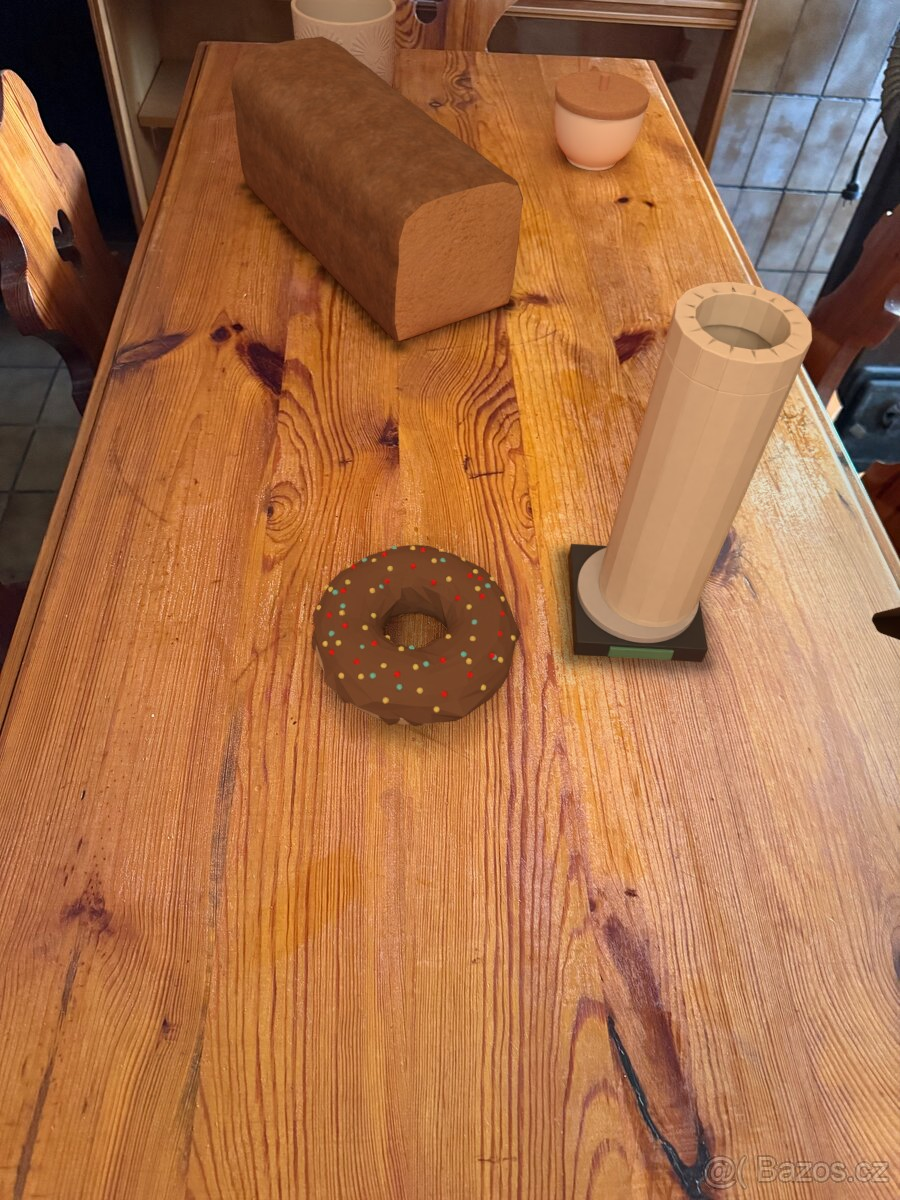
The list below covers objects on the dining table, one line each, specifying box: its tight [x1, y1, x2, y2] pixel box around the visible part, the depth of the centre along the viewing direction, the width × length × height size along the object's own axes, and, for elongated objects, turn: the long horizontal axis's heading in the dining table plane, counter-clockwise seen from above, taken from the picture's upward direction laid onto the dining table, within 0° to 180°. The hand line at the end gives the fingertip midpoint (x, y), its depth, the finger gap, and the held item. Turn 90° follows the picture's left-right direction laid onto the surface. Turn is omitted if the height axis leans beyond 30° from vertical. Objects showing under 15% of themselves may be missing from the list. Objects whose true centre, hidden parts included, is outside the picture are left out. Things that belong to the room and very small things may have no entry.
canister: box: [599, 281, 813, 627], centre depth 54 cm, size 7×7×22 cm
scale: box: [567, 543, 709, 663], centre depth 64 cm, size 9×9×2 cm
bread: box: [230, 37, 524, 342], centre depth 87 cm, size 14×34×14 cm, turn 33°
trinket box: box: [553, 70, 651, 172], centre depth 103 cm, size 11×11×9 cm
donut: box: [311, 542, 522, 727], centre depth 59 cm, size 14×14×5 cm
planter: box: [290, 0, 397, 88], centre depth 109 cm, size 12×12×11 cm
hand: (898, 569), depth 50 cm, fingers open, 9 cm apart
